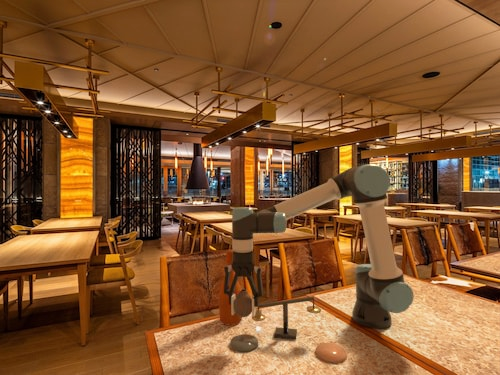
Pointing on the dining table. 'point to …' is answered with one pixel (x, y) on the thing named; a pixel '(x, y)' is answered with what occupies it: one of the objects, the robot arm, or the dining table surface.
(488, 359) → the dining table surface
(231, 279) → the wine bottle
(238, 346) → the dish
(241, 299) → the vase
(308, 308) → the balance
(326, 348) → the dish
